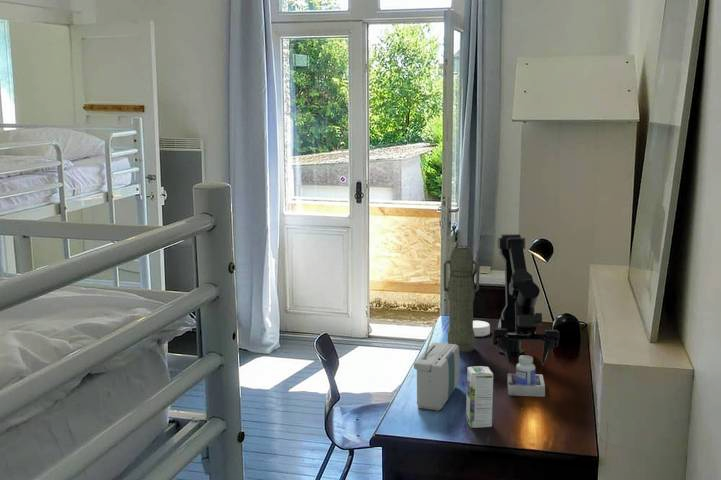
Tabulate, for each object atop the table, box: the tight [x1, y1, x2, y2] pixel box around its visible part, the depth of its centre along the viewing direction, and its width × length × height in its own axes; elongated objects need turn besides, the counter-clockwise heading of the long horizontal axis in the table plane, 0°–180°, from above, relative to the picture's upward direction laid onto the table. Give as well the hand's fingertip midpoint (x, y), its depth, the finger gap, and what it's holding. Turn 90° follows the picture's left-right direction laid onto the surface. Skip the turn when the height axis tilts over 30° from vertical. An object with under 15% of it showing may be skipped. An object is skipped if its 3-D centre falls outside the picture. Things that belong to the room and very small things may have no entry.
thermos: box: [443, 245, 481, 354], centre depth 258 cm, size 9×12×35 cm
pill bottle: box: [515, 354, 536, 385], centre depth 222 cm, size 5×5×10 cm
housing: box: [507, 372, 546, 398], centre depth 222 cm, size 10×10×3 cm
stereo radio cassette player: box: [413, 320, 461, 412], centre depth 216 cm, size 21×8×20 cm, turn 160°
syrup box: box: [465, 365, 494, 429], centre depth 198 cm, size 6×6×14 cm
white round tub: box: [473, 320, 491, 338], centre depth 280 cm, size 10×10×4 cm
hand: (526, 364), depth 220 cm, fingers open, 9 cm apart
